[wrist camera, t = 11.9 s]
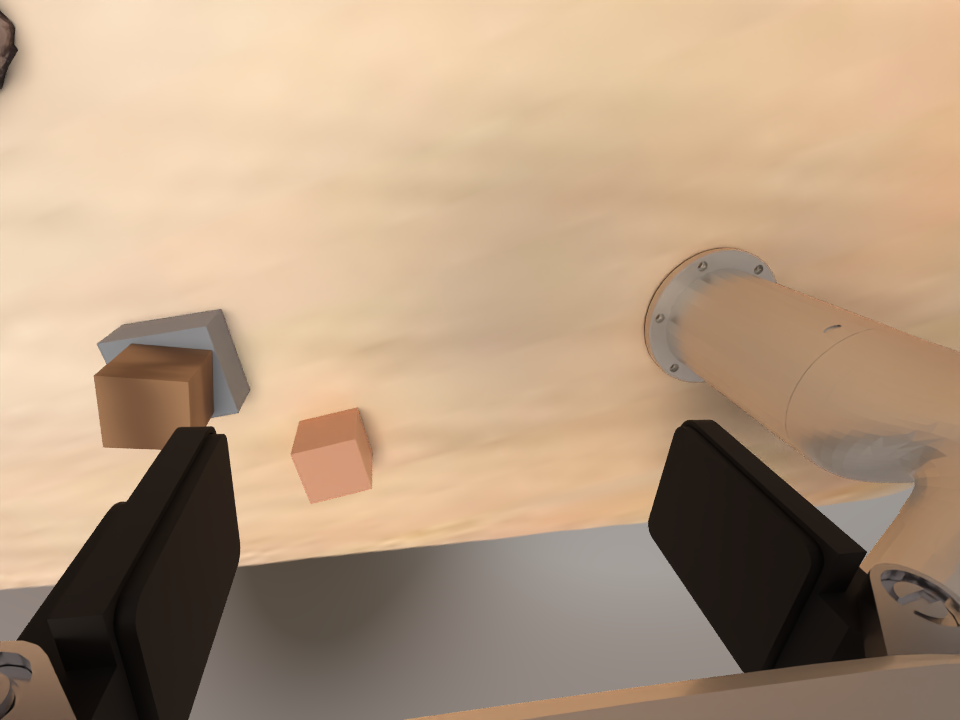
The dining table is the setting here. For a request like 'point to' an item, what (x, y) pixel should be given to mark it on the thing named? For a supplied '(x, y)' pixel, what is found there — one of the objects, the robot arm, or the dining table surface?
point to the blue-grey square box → (195, 334)
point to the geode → (6, 46)
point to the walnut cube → (153, 394)
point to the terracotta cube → (333, 455)
